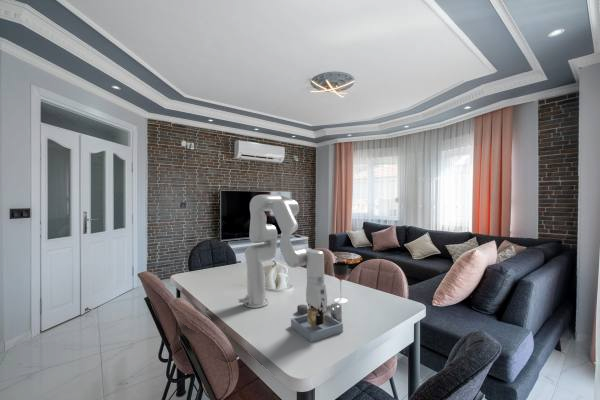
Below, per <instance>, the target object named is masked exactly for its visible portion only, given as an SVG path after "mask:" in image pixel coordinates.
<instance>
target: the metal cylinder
mask: <svg viewBox="0 0 600 400" xmlns="http://www.w3.org/2000/svg"><path fill="white" fill-rule="evenodd" d="M342 307H343V306H342V304H341V303H331V304H330V317H332V318H334V319H335V320H337V321H339V322H340V323H342V322H343V319H342V313H343V312H342V310H343V309H342Z"/></svg>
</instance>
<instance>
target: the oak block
mask: <svg viewBox="0 0 600 400" xmlns="http://www.w3.org/2000/svg"><path fill="white" fill-rule="evenodd" d="M307 310H308V313H307V314H308V323H309V324H310V325H311V326H313V327H315V326H318V325H316V315H317V311H316V308H315V307H313V308H309V307H308V308H307ZM320 311H321V309H319V312H320ZM325 314H326V312H325V313H324V315H323V324H325ZM320 325H322V324H320Z"/></svg>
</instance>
